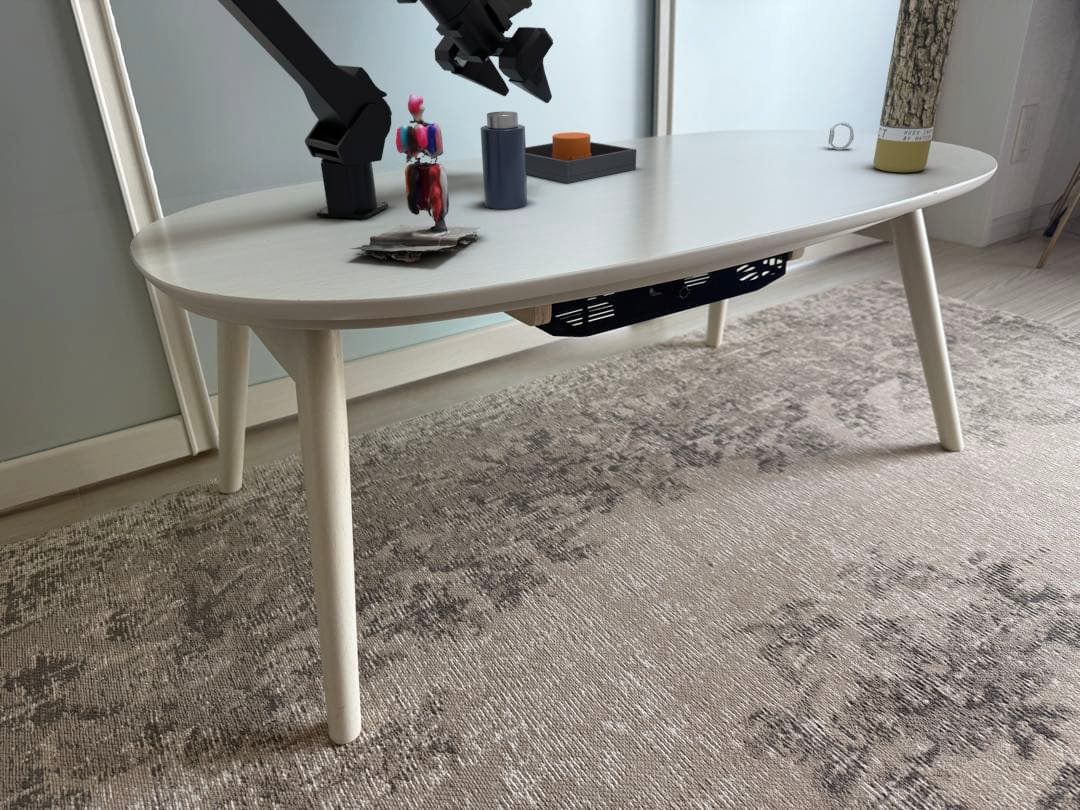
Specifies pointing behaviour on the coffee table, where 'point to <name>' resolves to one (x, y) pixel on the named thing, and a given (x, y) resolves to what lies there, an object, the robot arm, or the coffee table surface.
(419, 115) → the statue
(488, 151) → the spray can
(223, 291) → the coffee table surface
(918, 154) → the paper tube
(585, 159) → the tray
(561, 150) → the spray can cap
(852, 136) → the grey ring
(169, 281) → the coffee table surface
